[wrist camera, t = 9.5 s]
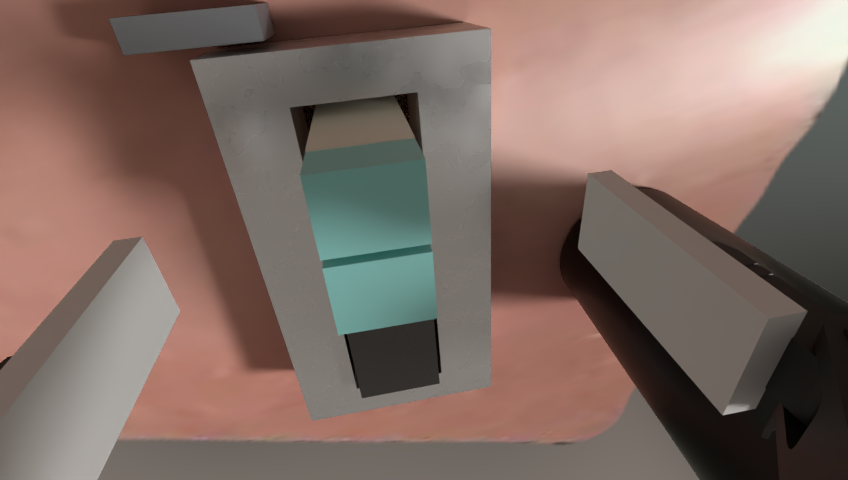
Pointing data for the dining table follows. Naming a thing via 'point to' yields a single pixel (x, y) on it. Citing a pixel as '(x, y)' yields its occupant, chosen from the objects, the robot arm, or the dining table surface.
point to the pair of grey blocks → (192, 28)
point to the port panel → (290, 222)
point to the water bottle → (663, 377)
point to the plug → (370, 214)
